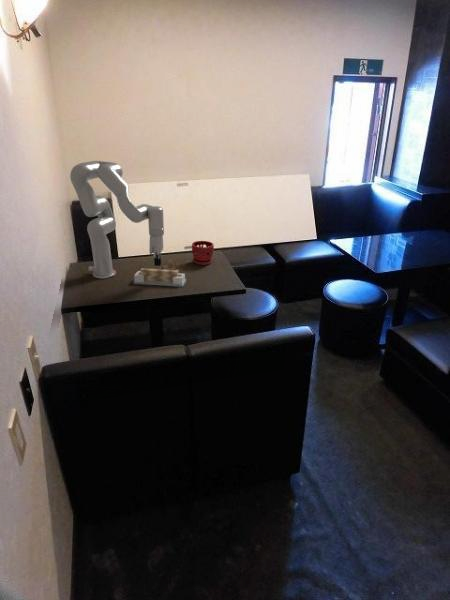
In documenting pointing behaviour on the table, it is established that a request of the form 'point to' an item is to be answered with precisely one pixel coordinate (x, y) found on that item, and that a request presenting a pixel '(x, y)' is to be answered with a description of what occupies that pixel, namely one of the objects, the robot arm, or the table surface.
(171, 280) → the slat
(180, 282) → the endcap board
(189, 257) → the table surface
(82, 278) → the table surface
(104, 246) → the robot arm
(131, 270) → the table surface
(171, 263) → the wooden fragment
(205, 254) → the plant pot
